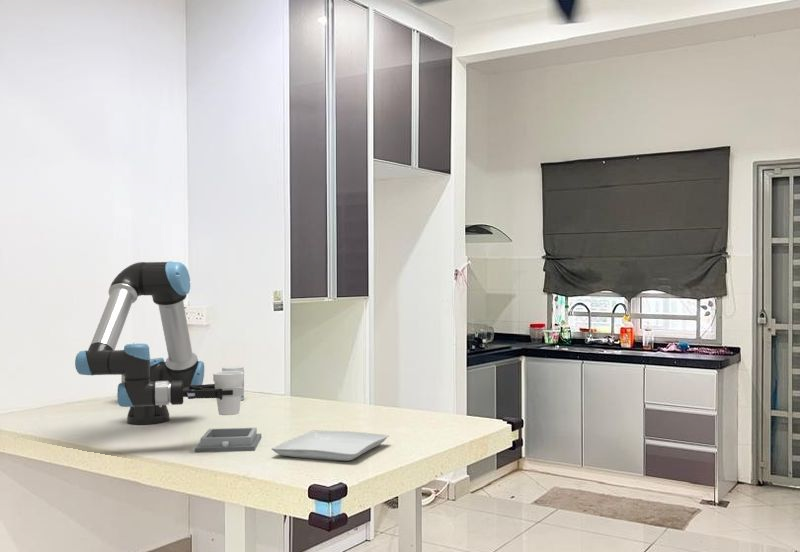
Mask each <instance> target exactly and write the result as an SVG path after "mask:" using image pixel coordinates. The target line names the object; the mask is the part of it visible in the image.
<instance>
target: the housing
mask: <svg viewBox="0 0 800 552" xmlns="http://www.w3.org/2000/svg"><path fill="white" fill-rule="evenodd" d="M257 430H258V429H257V427H256V426H255V427H229V428H227V427H225V428H222V427H221V428H209V429H208V430H207V431H206V432H205V433H204V434H203V435H202V436H201V437H200V442H199V443H198V444H197V445H196V447H195V448H194V453H214V452H215V453H218V452H250V451H252V452H254V451H256V448H257V446H258V444H260V441H261V439H262V433H257Z"/></svg>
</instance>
